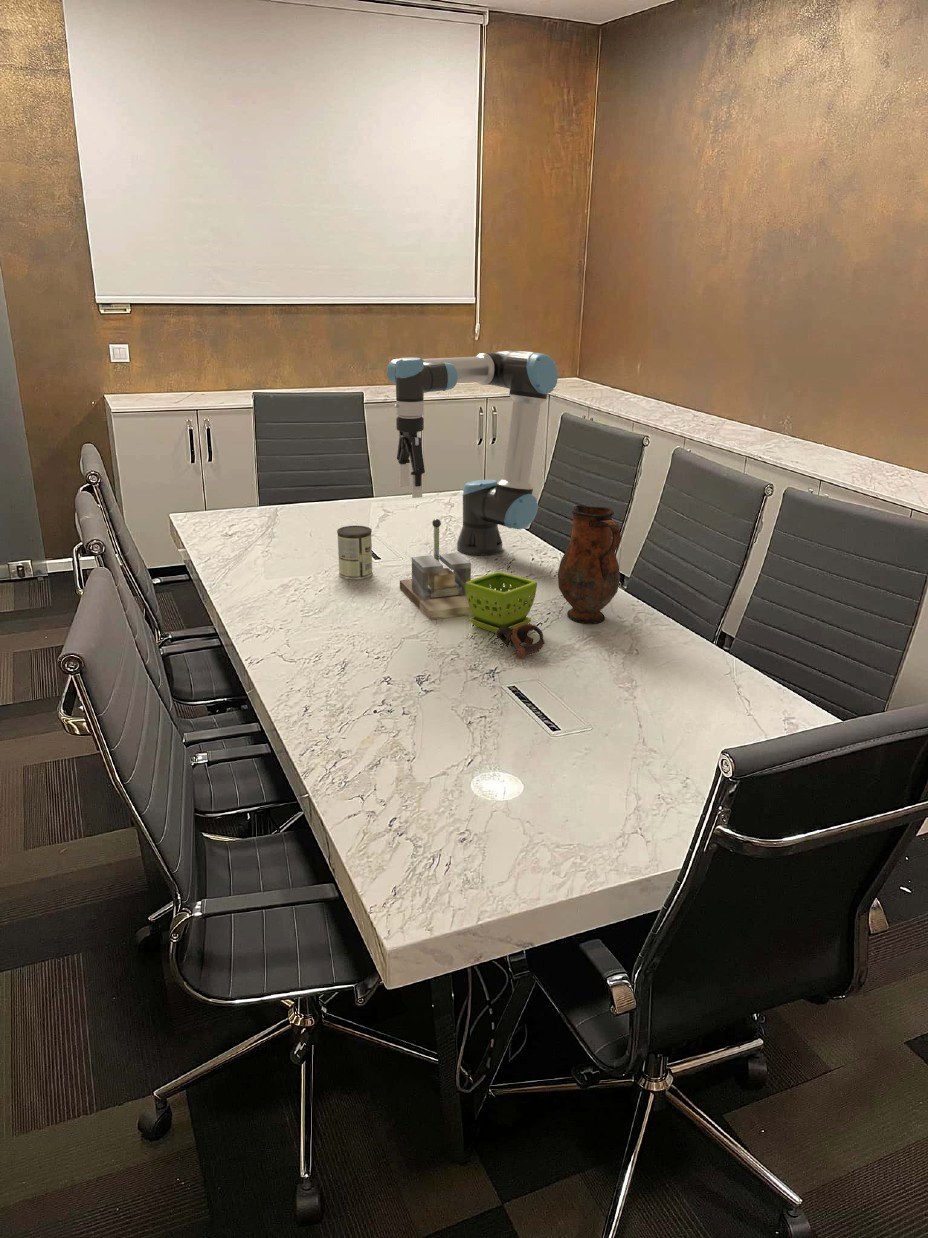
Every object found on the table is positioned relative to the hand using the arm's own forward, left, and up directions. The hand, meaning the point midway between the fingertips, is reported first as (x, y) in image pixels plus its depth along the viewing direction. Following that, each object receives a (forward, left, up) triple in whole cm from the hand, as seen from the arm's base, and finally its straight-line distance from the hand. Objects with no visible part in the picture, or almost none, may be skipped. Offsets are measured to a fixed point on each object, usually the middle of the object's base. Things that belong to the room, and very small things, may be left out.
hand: (410, 491), depth 263 cm
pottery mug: (-11, +55, -29) cm, 63 cm away
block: (-4, +14, -26) cm, 30 cm away
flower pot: (-12, +38, -29) cm, 49 cm away
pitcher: (-37, +41, -29) cm, 62 cm away
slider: (-4, +14, -26) cm, 29 cm away
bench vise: (-4, +14, -29) cm, 32 cm away
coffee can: (+13, -16, -29) cm, 35 cm away
